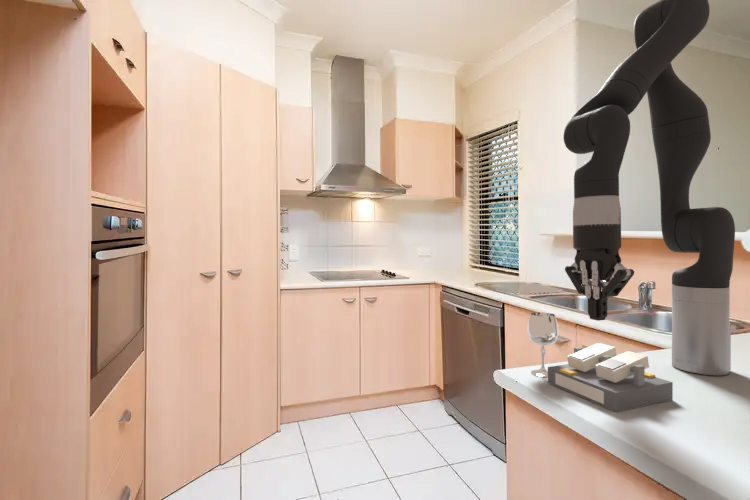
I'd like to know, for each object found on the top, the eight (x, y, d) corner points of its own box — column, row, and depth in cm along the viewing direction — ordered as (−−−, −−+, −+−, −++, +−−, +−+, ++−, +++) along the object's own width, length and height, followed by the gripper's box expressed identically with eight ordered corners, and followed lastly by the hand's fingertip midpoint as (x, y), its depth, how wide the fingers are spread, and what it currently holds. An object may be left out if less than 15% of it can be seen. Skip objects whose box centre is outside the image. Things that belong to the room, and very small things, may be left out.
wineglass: (561, 379, 77) (561, 317, 77) (530, 377, 78) (530, 316, 78) (554, 370, 82) (554, 312, 82) (525, 368, 84) (525, 311, 83)
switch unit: (599, 374, 79) (599, 343, 79) (672, 400, 66) (672, 363, 66) (547, 382, 75) (547, 350, 75) (614, 412, 62) (614, 372, 62)
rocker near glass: (598, 352, 77) (596, 341, 77) (619, 358, 73) (617, 346, 72) (566, 365, 74) (565, 354, 74) (586, 372, 70) (584, 361, 70)
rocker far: (627, 360, 71) (625, 349, 71) (651, 367, 67) (649, 355, 67) (594, 375, 68) (592, 363, 68) (618, 383, 64) (615, 371, 64)
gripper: (647, 220, 66) (648, 324, 66) (582, 224, 78) (583, 312, 79) (613, 221, 63) (614, 328, 64) (551, 225, 76) (553, 315, 76)
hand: (597, 319), depth 71 cm, fingers closed
